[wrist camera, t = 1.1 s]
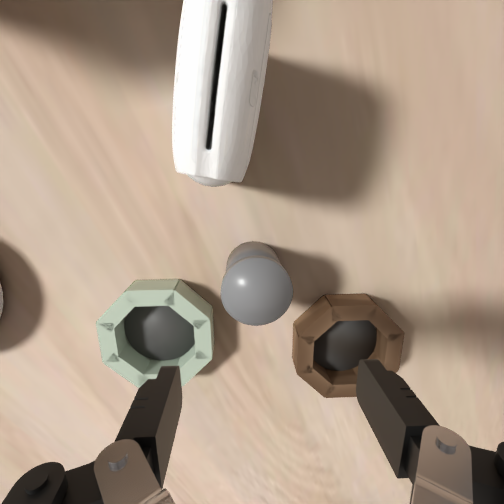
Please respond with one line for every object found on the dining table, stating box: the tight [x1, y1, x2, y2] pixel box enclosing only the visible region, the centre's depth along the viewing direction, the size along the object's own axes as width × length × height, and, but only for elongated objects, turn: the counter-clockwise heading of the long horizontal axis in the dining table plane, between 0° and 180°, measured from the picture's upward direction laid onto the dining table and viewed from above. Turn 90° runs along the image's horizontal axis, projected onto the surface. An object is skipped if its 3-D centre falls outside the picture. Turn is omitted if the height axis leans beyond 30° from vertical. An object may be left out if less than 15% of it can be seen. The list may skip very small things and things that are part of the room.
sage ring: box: [96, 279, 214, 388], centre depth 28 cm, size 10×10×2 cm
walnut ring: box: [292, 294, 404, 398], centre depth 29 cm, size 10×10×2 cm
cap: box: [221, 241, 293, 326], centre depth 25 cm, size 5×5×6 cm
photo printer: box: [172, 0, 273, 187], centre depth 18 cm, size 10×4×12 cm, turn 171°
